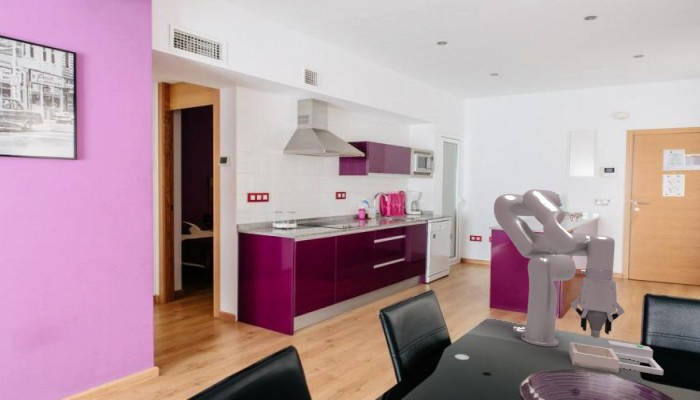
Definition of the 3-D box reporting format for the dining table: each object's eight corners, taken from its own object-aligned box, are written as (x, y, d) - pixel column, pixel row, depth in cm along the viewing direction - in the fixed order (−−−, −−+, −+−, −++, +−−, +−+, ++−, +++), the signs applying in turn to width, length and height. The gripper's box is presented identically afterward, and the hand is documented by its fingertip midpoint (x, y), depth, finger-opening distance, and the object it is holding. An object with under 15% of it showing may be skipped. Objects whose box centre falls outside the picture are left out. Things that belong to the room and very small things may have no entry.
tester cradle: (616, 367, 144) (617, 352, 144) (606, 351, 160) (607, 338, 160) (663, 375, 140) (664, 360, 140) (648, 358, 156) (649, 344, 156)
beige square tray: (573, 365, 143) (573, 352, 143) (568, 353, 155) (569, 341, 155) (618, 373, 139) (619, 360, 139) (610, 360, 150) (611, 348, 150)
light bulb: (608, 341, 143) (610, 309, 143) (587, 338, 144) (589, 306, 144) (602, 336, 149) (604, 305, 149) (582, 334, 150) (584, 303, 150)
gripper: (570, 273, 146) (566, 330, 146) (632, 279, 140) (629, 339, 140) (568, 270, 153) (564, 324, 153) (627, 276, 147) (623, 333, 147)
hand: (595, 331), depth 146 cm, fingers closed on light bulb, 5 cm apart
